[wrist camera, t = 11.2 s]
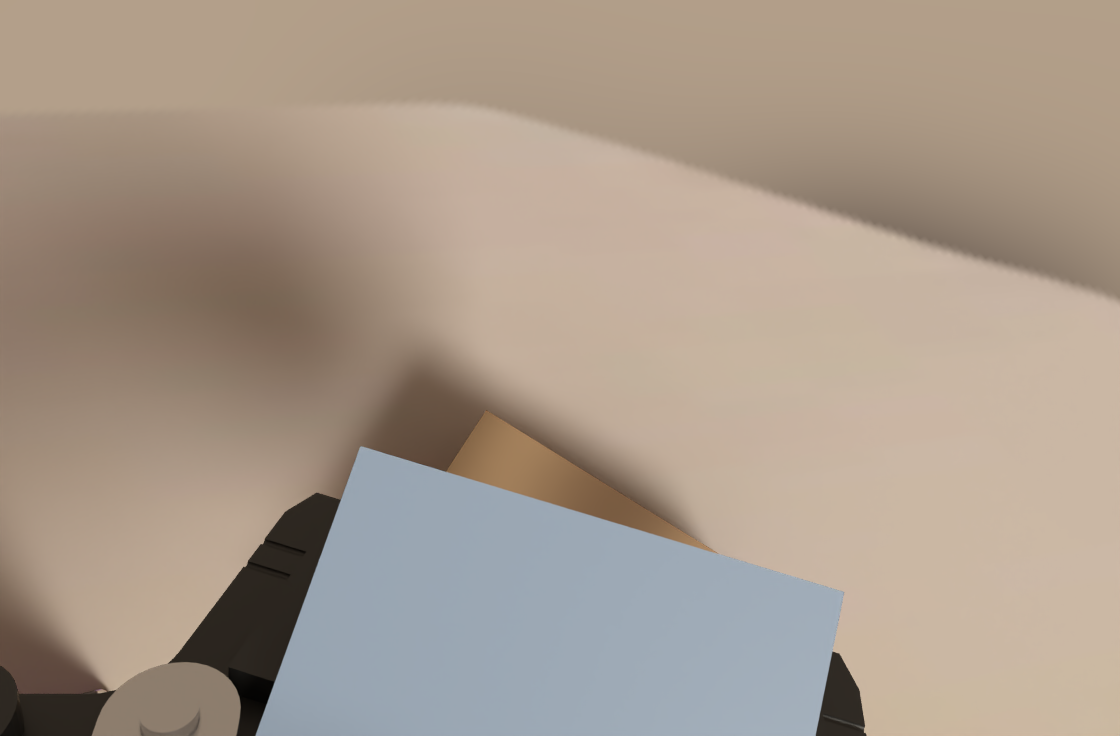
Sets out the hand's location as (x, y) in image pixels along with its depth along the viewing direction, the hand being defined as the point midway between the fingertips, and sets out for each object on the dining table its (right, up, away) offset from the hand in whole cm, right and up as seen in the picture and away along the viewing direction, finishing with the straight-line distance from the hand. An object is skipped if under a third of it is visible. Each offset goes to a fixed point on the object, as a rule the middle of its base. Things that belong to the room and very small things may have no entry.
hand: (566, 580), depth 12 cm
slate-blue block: (-1, -3, +4) cm, 5 cm away
